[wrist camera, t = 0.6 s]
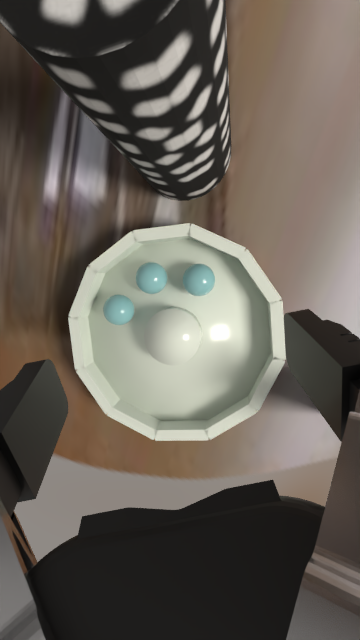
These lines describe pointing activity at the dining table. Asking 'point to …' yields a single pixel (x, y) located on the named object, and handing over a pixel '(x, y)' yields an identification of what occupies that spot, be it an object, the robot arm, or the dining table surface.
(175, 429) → the tray
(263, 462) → the dining table surface
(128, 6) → the white-spotted black cylinder
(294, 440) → the dining table surface
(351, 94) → the dining table surface
